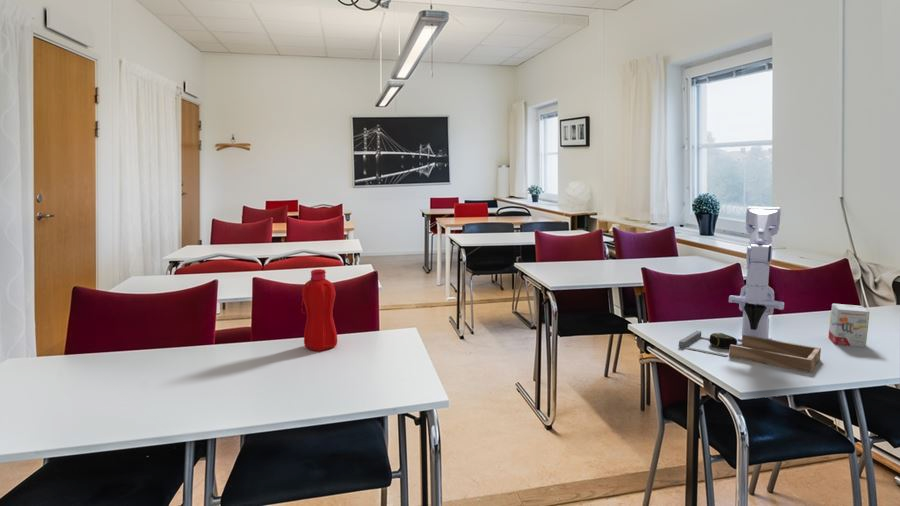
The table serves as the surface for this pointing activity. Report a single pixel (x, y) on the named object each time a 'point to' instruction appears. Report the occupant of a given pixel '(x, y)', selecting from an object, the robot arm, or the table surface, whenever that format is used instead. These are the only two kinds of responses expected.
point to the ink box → (848, 325)
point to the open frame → (776, 353)
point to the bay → (693, 338)
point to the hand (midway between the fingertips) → (753, 329)
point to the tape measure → (722, 340)
